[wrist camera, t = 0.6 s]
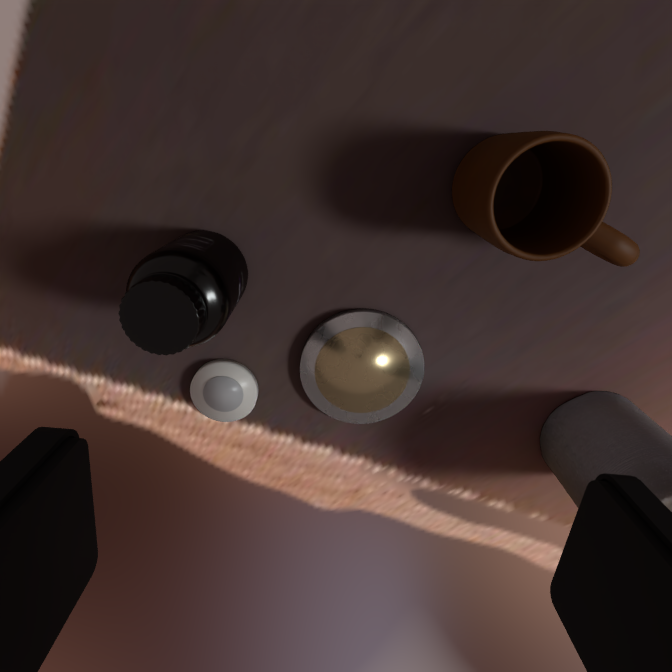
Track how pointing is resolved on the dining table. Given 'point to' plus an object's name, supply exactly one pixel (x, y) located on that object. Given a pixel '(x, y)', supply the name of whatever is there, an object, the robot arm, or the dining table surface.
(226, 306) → the supplement bottle
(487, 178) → the mug
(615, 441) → the pillar candle
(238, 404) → the plastic flange
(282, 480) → the dining table surface
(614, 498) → the robot arm
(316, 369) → the silver and gold coaster
